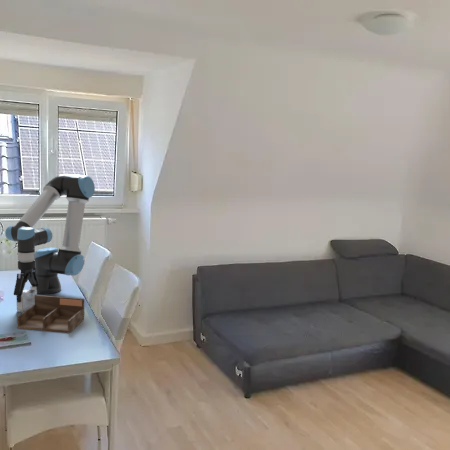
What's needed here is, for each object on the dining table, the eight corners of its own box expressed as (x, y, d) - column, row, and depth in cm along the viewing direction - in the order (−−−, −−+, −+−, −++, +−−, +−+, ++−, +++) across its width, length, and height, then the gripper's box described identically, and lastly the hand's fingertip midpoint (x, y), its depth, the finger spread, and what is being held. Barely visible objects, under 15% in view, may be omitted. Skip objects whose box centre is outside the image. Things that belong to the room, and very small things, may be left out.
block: (21, 309, 237) (20, 289, 235) (37, 310, 236) (36, 290, 234) (16, 311, 233) (16, 291, 231) (33, 313, 232) (32, 293, 230)
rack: (35, 315, 230) (35, 294, 228) (84, 319, 228) (84, 298, 226) (17, 328, 213) (17, 306, 212) (69, 332, 211) (69, 310, 210)
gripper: (31, 254, 243) (31, 295, 246) (4, 266, 218) (5, 311, 222) (45, 255, 242) (46, 296, 246) (20, 267, 218) (21, 313, 221)
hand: (26, 303), depth 234 cm, fingers open, 13 cm apart
